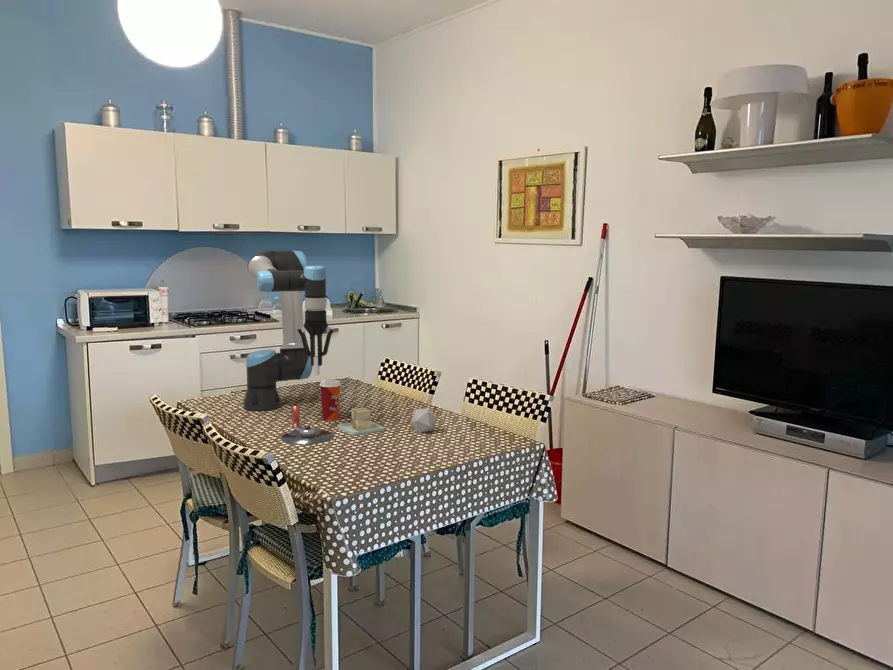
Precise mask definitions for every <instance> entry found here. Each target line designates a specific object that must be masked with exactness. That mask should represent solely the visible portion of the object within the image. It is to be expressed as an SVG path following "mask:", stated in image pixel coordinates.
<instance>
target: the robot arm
mask: <svg viewBox="0 0 893 670" xmlns="http://www.w3.org/2000/svg"><path fill="white" fill-rule="evenodd" d="M246 268H247V270H248V274H250V276H251V277H253V278H254V279H256V286H257V287H256V288H257V290H258V291H259V292H261V293H263V292H264V293H271V292H272V293H274V292H276V293H277V292H278V293H279V292H280V301H281V303H280V304H281V305H280V306H281V307H280V308H281V323H282V325H281V326H282V343H283V344H282V345H281V347H280V348H279V352H277V351H276V350H275V349H262V350H261V349H260V350H256V351H253V352H250V353H249V354H247V356H246V364H245V367H246V393H245V395H244V399H243V402H242V409H244V410H246V411H253V412H265V411H266V412H267V411H271V410H272V411H273V410H277V409H280V408H281V407H282V400H281V398H280V394H279V392H278V389H277V382H280V381H281V382H282V381H300V380H305V379H309V378H310V376H311V375H312V371H313V376H319V375H320V372H321V371H320V367H322V365H323V356H327V354H328V352H329V347H330V343H331V338H332V335H333V334H334V332H335V328H332V327H330V326H329V323H328V322H327V310H326V309H327V273H326V272H327V271H326V267H325V266H323V265H309V264H308V260H307V256H306V255H305V253H304V252H303V251H300V250H292V249H291V250H263V251H260V252H257V253H255V254H253V255H252V256H251V257H250V258H249V260H248V262H247V267H246ZM302 292H304V309H305V310H304V312H303V296H302V295H303V294H302ZM325 331H326V338H325V341H324V346H323V335H324V333H325ZM306 332H307V333H308V335H309V343H310V344H309V343H308V339H307V336H306ZM316 338H317V340H316ZM316 341H317V343H316ZM316 344H317V355H316Z"/></svg>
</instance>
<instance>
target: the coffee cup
mask: <svg viewBox="0 0 893 670" xmlns="http://www.w3.org/2000/svg"><path fill="white" fill-rule="evenodd" d="M341 386H342V384H341V381H340V380H339V379H333V378H332V379H322V380H321V381H320V383H319V387H320V398H321V399H320V401H321V412H322V415H321V416H322V420H324V421H329V422H330V421H337V420H339V418H340V415H339V414H340V401H341V400H340V397H341V394H340V393H341Z"/></svg>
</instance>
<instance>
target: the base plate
mask: <svg viewBox="0 0 893 670" xmlns="http://www.w3.org/2000/svg"><path fill="white" fill-rule="evenodd" d="M304 427H305V429H311V428H312V426H311V425H304ZM334 437H335V434H334V433H333V432H332V431H329V430H326V429H325V430H324V429H319V428H318V429H315V436H313V437H301V435H300V431H298V430H291V431H289V432H286V433H284V434H283V435H282V436H281V438H280V439H281V441H282V442H284V443H286V444H292V445H298V446H299V445H300V446H302V445H303V446H305V445H306V446H307V445H317V444H321V443H327V442H329V441H331V440H333V439H334Z"/></svg>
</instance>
